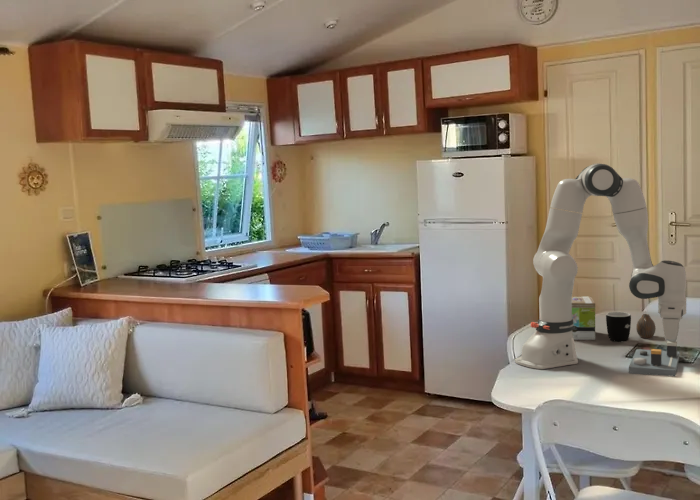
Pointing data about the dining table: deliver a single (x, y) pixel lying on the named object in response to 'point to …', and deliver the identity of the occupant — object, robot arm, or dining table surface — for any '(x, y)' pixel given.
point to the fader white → (671, 348)
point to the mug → (618, 326)
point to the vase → (645, 326)
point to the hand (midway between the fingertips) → (672, 347)
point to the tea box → (583, 318)
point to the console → (644, 366)
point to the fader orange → (656, 356)
